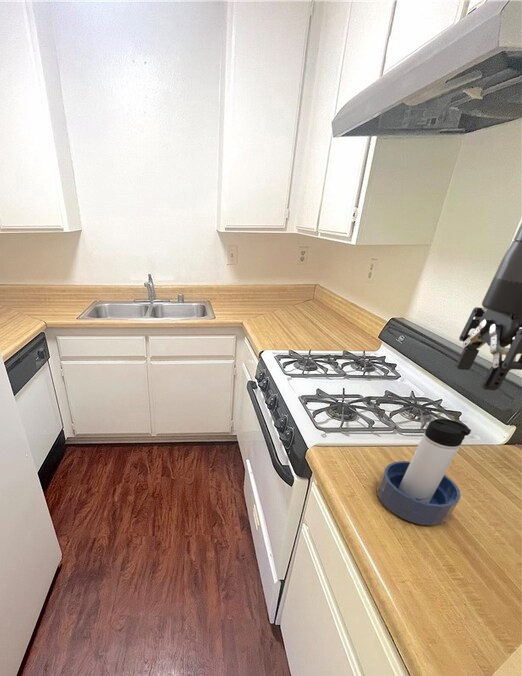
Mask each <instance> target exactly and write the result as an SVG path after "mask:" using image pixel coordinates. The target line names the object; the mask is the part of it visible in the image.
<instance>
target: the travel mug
mask: <svg viewBox="0 0 522 676" xmlns="http://www.w3.org/2000/svg"><path fill="white" fill-rule="evenodd" d="M471 432H472V429H470V428H469V427H468V426H467V425H465V424H464V423H461V422H459V421H456V420H453V419H447V418H436V419H434V420H431V421H429V422H428V425H427V427H426V429H425V431H424V433H423V435H422V437H421V439H420V441H419V443H418V445H417V448H416V449H415V452H414V454H413V456H412V458H411V460H410V461H409V462H410V464H409V466H408V469H407V471H406V473H405V475H404V477H403V479H402V481H401V483H400V486H399V488H398V490H400V491H401V492H403V493H404V494H406V495H407V496H410V497H412V498H414V499H416V500H419V501H422V502H426V503H429V501H430V500H431V498H432V496H433V495H434V493H435V491H436V489H437V487H438V485H439V484H440V482H441V480H442V478H443V476H444V475H446V473H447V471H448V470H449V467H450V466H451V464H452V462H453V460H454V458H455V456H456V455H457V453H458V451H459V449H460V448H461V446H462V443H463V441H464V440H465V438H466V437H467V436H469V435H470V434H471Z"/></svg>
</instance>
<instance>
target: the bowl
mask: <svg viewBox="0 0 522 676" xmlns="http://www.w3.org/2000/svg"><path fill="white" fill-rule="evenodd" d="M410 462H411V461H408V460H401V461H400V460H399V461H394V462H392V463H388V464H387V466H386V467H385V468H384V470H383V471H382V475H381V476H380V479H379V482H378V484H377V487H376V495H377V497H378V499H379V501H380V502H381V504H382V505H383V506H384V507H385V509H387V510H388V511H390V512H391V513H392V514H394V515H395V516H397V517H399V518H401V519H403V520H405V521H407V522H411V523H414V524H416V525H423V526H438V525H442V524H443V523H445V522H447V521H448V520H449V518H450V516H451V515H452V513H453V511H454V510H455V508H456V506H457V505H458V503H459V501H460V499H461V497H462V495H461V490H460V488H459V487H458V485H457V484H456V482H455V481H453V480H452V478H449V476H448V475H446V474H445V475H444V476H443V478H442V480H441V482H440V484H439V485H438V487H437V489H436V491H435V493H434V495H433V496H432V498H431V500H430V501H429V503H426V502H422V501H419V500H416V499H414V498H412V497H410V496H407V495H406V494H404V493H403V492H401V491H400V490H398V488H399V486H400V483H401V481H402V479H403V477H404V475H405V473H406V471H407V469H408V466H409V464H410Z"/></svg>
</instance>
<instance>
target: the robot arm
mask: <svg viewBox="0 0 522 676" xmlns="http://www.w3.org/2000/svg"><path fill="white" fill-rule="evenodd" d="M481 306H482V307H474V308H473V309H472V310H471V313H470V315H469V317H468V319H467V321H466V323H465V325H464V327H463V329H462V331H461V333H460V335H459V338H458V340H459V341H460V342H463V343H462V347H463V349H462V352H461V354H460V356H459V358H458V360H457V362H456V365H455V367H456V369H458V370H463V371H469V370H471V368H472V366H473V365H474V362H475V360H476V358H477V356H478V354H479V352H480V350H479V349H481V348H482V347H483V346H484V345H485V344H486V345H487V346H488V347H489V352H490V354H491V355H492V366H491V367H490V368H489V370H488V372H487V374H486V376H485V378H484V379H483V381H482V383H481V385H480V387H481V388H482V389H483V390H485V391H496V390H498V389H499V388H500V387H501V385H502V384H503V383H504V380H505V379H506V377H507V375H508V373H509V372H510V371H511V370H517V371H522V222H521V223H520V224H519V226H518V229H517V230H516V233H515V236H514V238H513V240H512V242H511V244H510V245H509V247H508V249H507V250H506V251H505V253H504V255H503V257H502V259H501V261H500V263H499V265H498V267H497V269H496V271H495V274H494V276H493V278H492V280H491V282H490V285H489V286H488V289H487V291H486V293H485V294H484V297H483V300H482V301H481ZM472 329H473V330H472ZM471 330H472V331H471ZM470 331H471V332H470ZM508 346H509V347H508ZM518 355H520V356H519V358H518V360H517V356H518ZM503 356H505V357H504V359H503Z"/></svg>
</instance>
